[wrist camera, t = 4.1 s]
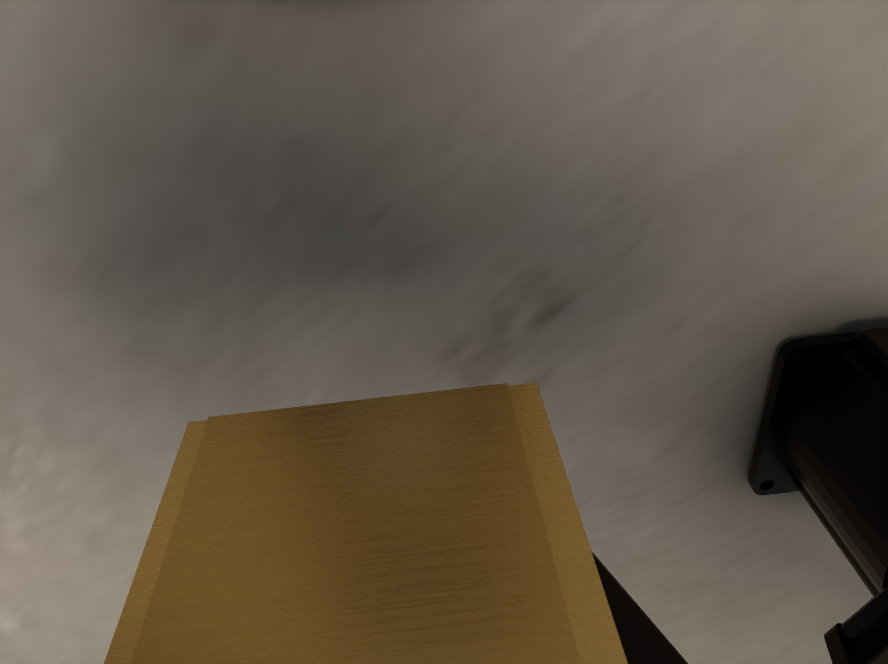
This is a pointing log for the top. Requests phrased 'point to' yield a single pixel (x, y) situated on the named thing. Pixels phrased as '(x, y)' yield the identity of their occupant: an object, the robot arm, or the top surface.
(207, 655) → the yellow hollow block
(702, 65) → the top surface
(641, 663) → the robot arm
